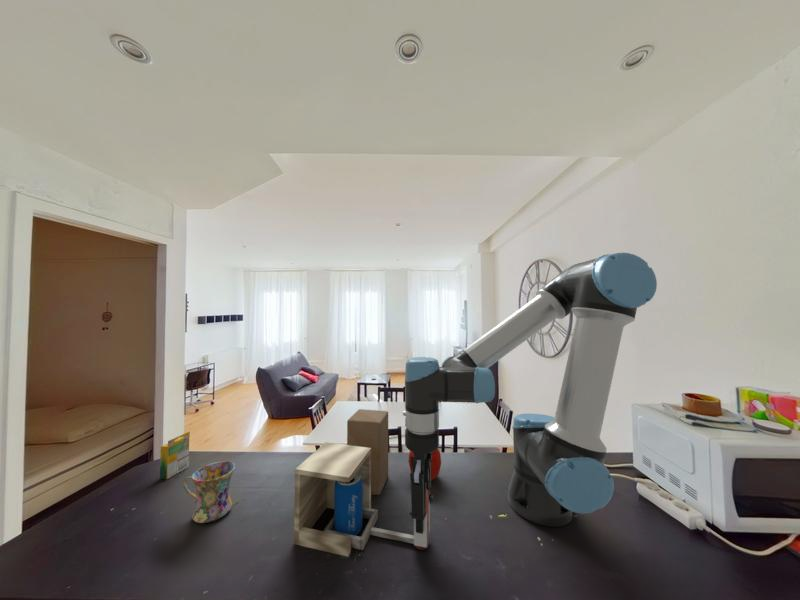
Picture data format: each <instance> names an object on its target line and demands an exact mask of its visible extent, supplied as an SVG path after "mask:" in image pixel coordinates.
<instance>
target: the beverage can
mask: <svg viewBox="0 0 800 600" xmlns="http://www.w3.org/2000/svg"><path fill="white" fill-rule="evenodd" d="M362 498H363V481H362V478H361V475H360V473H358V472H356V473H355V475H354V476H353V478H352V479H351V480H350V482H343V481H337V480H336V482H335V508H334V509H333V510H334V512H333V513H334V515H333V516H334V530H333V531H336V532H341V533H345V534H350V535H355V536H358V534H359V533H360V532H361V531H362V528H363V518H362Z"/></svg>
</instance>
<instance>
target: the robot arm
mask: <svg viewBox="0 0 800 600" xmlns="http://www.w3.org/2000/svg"><path fill="white" fill-rule="evenodd" d="M657 283H658V281H657V277H656V273H655V272H654V270H653V268H652V267H650V266H649V265H648V262H647V261H646V260H644V259H643V258H642V257H640V256H638V255H636V254H634V253H630V252H616V253H610V254H609V253H608V254H603V255H601V256H598V257H597V258H593V259H590V260H585V261H583V262H579V263H576V264H573V265H571V266H569V267H567V268H566V269H564V270H563V271H561V272H560V273H558V275H556V276H555V277H553V278H551V280H549V281H548V282H547V283H546V284H544V285H543V286H542V287H541V288H539V289H538V290H537V291H536V292H535V297H533V298H532V299H531V300H530V301H528V302H527V303H525V304H524V305H523V306H521V307H520V308H519V309H517V310H516V311H514V312H513V313H512V314H510V315H509V316H507V317H506V318H505V319H503V320H502V321H501V322H499V323H498V324H496V325H495V326H494V327H492V328H491V329H490V330H489V331H487V332H486V333H484V334H483V335H481V336H480V337H479V338H477V339H476V340H475V341H473V342H472V343H471V344H469V345H468V346H466V347H465V348H464V349H463V350H461V351H460V352H458V353H457V354H455V355H454V356H449V357H446V358H445V359H444V360H443V361H442V363H441V365H439V360H438V359H437V358H435V357H425V356H417V357H416V356H415V357H411V358H409V359H407V360H406V362H405V374H404V398H405V399H404V404H405V405H404V407H405V408H404V411H403V412H402V415H403V416H405V417H404V418H405V420H404V421H405V422H404V423H405V424H404V425H405V427H406V428H405V430H404V444H405V447H406V449H407V450H409V451H410V450H411V451H412V452H413V453H414V457H413V456H412V463H411V464H412V467H413V468H412V472H411V471H410V473H409V477H410V489H411V490H410V491H411V492H410V496H411V499H410V500H411V509H410V512H409V515H410V516H411V519H413V535H414V544H413V546H415V545H416V546H421V547H425V548H426V549H427V548H428V547H427V513H426V489H427V490H428V492H429V533H430V532H431V527H430V526H431V523H430V522H431V520H430V519H431V517H430V515H431V513H430V512H431V511H430V510H431V509H430V507H431V504H430V503H431V502H430V501H433V499H434V494H431V490H432V481H431V459H432V453H431V452H434V451H435V450H437V448H438V449H439V446H440V433H439V428H440V408H439V407H440V406H439V404H440V403H468V404H469V403H470V404H480V403H481V404H482V403H490V402H492V401H493V399H494V398H495V395H496V384H495V383H496V382H495V377H494V375H493V372H492V370H491V369H490V367H492V366H493V365H494V364H496V363H497V362H498V361H500V360H501V359H502V358H504V357H505V356H507V355H508V354H509V353H510V352H513V350H514V349H516V348H517V347H519V346H521V345H522V344H523V343H525V342H526V341H527V340H528V339H530V338H531V337H532V336H534V335H535V334H537V333H538V332H539V331H541V330H542V329H544V328H545V327H546V326H547V325H549V324H550V323H552V322H553V321H554V320H556V319H557V320H562V319H565V318H566V317H567V316H569V314H573V315H574V316H575V317H576V321H575V325H574V328H573V334H572V338H571V343H570V347H569V352H568V355H567V356H568V357H567V361H566V365H565V368H564V369H565V370H564V375H563V378H562V384H561V388H560V393H559V396H558V400H557V405H556V409H555V410H556V411H555V414H554V416H551V415H547V414H542V413H519V414H516V415H515V416H513V417H514V418H513V421H512V422H513V425H512V432H513V433H512V437H513V440H512V441H513V469H514V470H513V472H512V476H511V479H510V482H509V483H508V484H509V485H508V488H507V501H508V504H509V506H510V507H511V508H512V509H513V511H514V512H515V513H517V514H518V515H519V516H521V517H522V518H524V519H526V520H528V522H532V523H534V524H537V525H539V526H544V527H551V528H552V527H553V528H554V527H555V528H556V527H563V526H566V525H568V524H569V523H570V522H571V521H572V519H573V513H577V514H591V513H595V511H597V510H601V509H602V508H604V507H605V506H606V505H608V503H609V502H610V500H611V499H612V497H613V495H614V490H615V485H614V483H615V482H614V479H613V477H612V475H611V473H610V471H609V469H608V468H607V467H606V465H604V464H605V459H606V455H607V447H606V445H605V444H604V442H603V441H602V439H601V432H602V429H603V424H604V419H605V414H606V409H607V405H608V400H609V396H610V391H611V387H612V382H613V378H614V373H615V367H616V364H617V363H616V362H617V358H618V355H619V354H618V353H619V349H620V345H621V344H620V343H621V340H622V336H623V331H624V328H625V327H626V326H627V325H628V324H631V323H633V322H634V321H636V320H635V319H636V314H637V311H638V308H640V307H642V306H645V305H646V304H647V303H648V302H650V301H651V300H652V299H653V298H654V296H655V295H656V291H657V286H658V284H657Z"/></svg>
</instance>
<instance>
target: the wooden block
mask: <svg viewBox="0 0 800 600" xmlns="http://www.w3.org/2000/svg"><path fill="white" fill-rule="evenodd" d="M346 423H347V425H346V427H347V429H346V431H347V433H346V442H347V443H346V445H351V446H359V447H367V448H371V495H373V496H380V495H381V493H382V491H383V489H384V486H385V484H386V481H387V480H388V477H389V411H388V410H379V409H378V410H376V409H360V408H359V409H357V411H355V413H353V414H352V415H351V416H350V417H349V418H348V419H347V422H346Z"/></svg>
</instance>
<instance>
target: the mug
mask: <svg viewBox="0 0 800 600" xmlns="http://www.w3.org/2000/svg"><path fill="white" fill-rule="evenodd" d="M235 469H236V464H235V463H234V462H232V461H228V460H227V461H226V460H222V461H217V462H211V463H209V464H206V465H204V466H202V467H200V468H198V469H197V470H196V471H194V473H193V474H192V475H191V476H187V477H185V479H184V480H183V482H182V485H183V489H184V490H185V492H186V493H187V495H189V496H190V497H191V498H193V499H195V500H196V501H195V502H194V503H195V504H196V506H195V508H194V511H193V513H192V515H191V518H192V520H193V521H194V522H195V523H198V524H205V523H206V524H207V523H211V522H214V521H216V520H219V519H221V518H222V517H224V516H225V515H226V514H228V513H229V512H230V510H231V509H232V508H233V500H232V499H231V497H230V483H231V479H232V477H233V474H234V471H235ZM190 479H191V481H192V482H193V484H194V486H195V490H196V494H197V495H196V494H195V493H193V492H192V491H191V490H190V489H189V488H188V486H187V480H190Z"/></svg>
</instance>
